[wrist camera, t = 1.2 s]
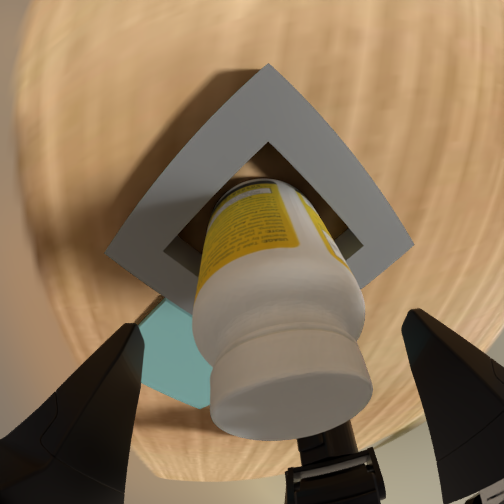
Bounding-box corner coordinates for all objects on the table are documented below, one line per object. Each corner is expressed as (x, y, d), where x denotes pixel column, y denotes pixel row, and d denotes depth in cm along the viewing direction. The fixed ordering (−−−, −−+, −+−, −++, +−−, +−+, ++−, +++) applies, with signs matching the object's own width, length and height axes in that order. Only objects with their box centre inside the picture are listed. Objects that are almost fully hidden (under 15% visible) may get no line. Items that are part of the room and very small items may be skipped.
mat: (278, 362, 20) (279, 368, 19) (200, 404, 23) (199, 409, 23) (167, 295, 16) (165, 300, 16) (106, 358, 19) (104, 362, 19)
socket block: (397, 227, 14) (414, 244, 13) (260, 333, 18) (263, 357, 16) (263, 68, 10) (268, 62, 8) (118, 234, 14) (104, 253, 12)
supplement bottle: (196, 255, 15) (163, 435, 6) (230, 159, 12) (214, 315, 4) (287, 282, 16) (324, 448, 7) (333, 200, 13) (443, 356, 5)
